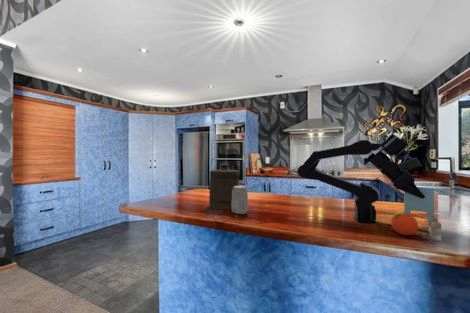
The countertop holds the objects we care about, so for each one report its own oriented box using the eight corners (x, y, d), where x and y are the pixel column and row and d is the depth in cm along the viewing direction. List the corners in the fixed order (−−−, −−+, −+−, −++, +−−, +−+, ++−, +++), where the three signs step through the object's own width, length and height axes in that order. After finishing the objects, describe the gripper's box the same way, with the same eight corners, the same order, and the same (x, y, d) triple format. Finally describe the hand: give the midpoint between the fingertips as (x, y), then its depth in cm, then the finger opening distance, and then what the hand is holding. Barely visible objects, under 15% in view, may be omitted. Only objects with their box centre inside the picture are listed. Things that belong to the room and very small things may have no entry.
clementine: (397, 238, 70) (397, 215, 70) (383, 231, 77) (383, 210, 77) (423, 238, 70) (423, 215, 70) (406, 231, 77) (406, 210, 77)
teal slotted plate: (404, 217, 81) (404, 186, 81) (404, 216, 83) (404, 186, 83) (434, 221, 77) (433, 188, 77) (433, 219, 79) (432, 187, 79)
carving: (250, 214, 100) (250, 186, 100) (236, 216, 95) (236, 187, 96) (242, 211, 105) (242, 185, 105) (228, 213, 101) (228, 186, 101)
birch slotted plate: (432, 240, 69) (432, 223, 69) (428, 231, 77) (428, 216, 77) (441, 241, 68) (441, 224, 68) (436, 232, 76) (436, 217, 76)
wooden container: (244, 205, 117) (244, 162, 117) (227, 211, 104) (228, 163, 105) (220, 202, 125) (221, 162, 125) (203, 207, 112) (203, 162, 113)
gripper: (405, 148, 75) (451, 184, 68) (403, 150, 90) (440, 179, 84) (377, 172, 79) (417, 207, 73) (379, 169, 95) (413, 199, 88)
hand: (423, 197), depth 79 cm, fingers closed on teal slotted plate, 2 cm apart
